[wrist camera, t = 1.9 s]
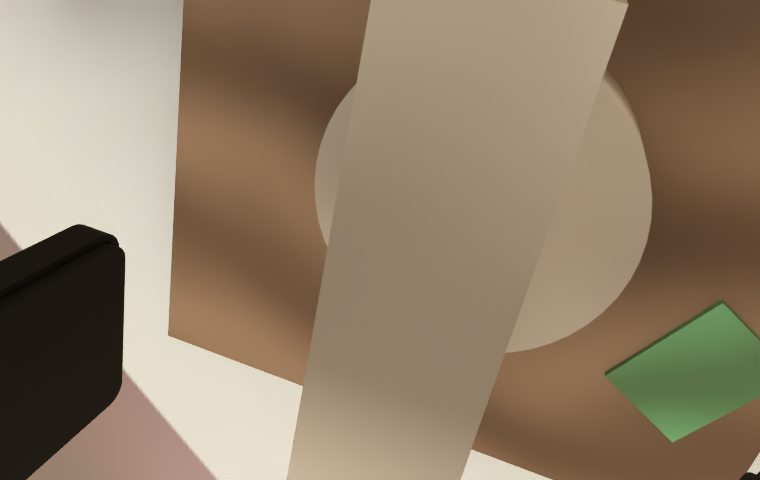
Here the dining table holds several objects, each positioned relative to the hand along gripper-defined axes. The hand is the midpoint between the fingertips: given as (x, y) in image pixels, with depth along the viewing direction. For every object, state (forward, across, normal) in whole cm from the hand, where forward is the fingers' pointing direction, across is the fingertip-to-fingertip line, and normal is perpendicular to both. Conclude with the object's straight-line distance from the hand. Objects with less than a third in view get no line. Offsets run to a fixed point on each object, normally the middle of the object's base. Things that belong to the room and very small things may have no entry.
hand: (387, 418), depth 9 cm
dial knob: (+10, 0, +2) cm, 10 cm away
